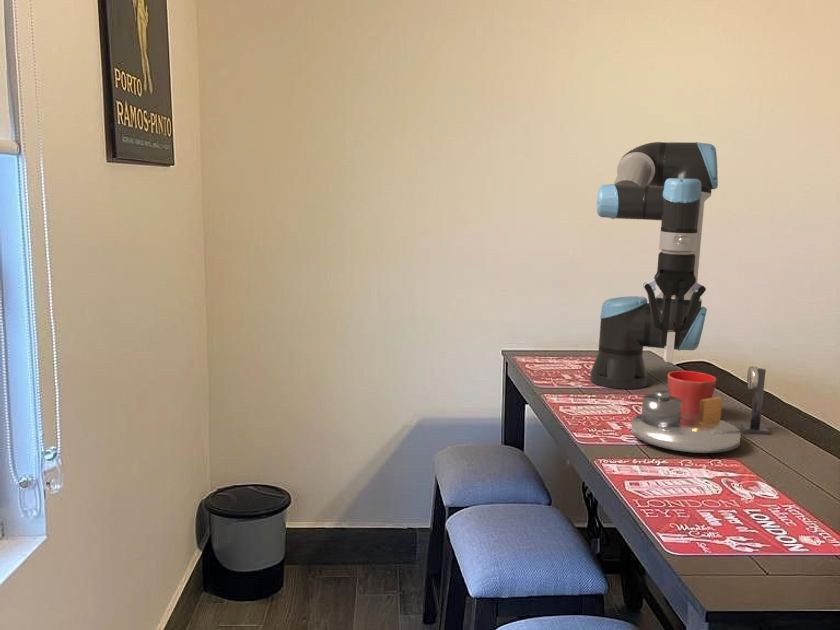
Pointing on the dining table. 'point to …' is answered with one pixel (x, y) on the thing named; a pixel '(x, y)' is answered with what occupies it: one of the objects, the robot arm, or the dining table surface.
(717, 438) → the turntable
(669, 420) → the cover
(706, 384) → the flower pot
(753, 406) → the dial post
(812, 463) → the dining table surface
